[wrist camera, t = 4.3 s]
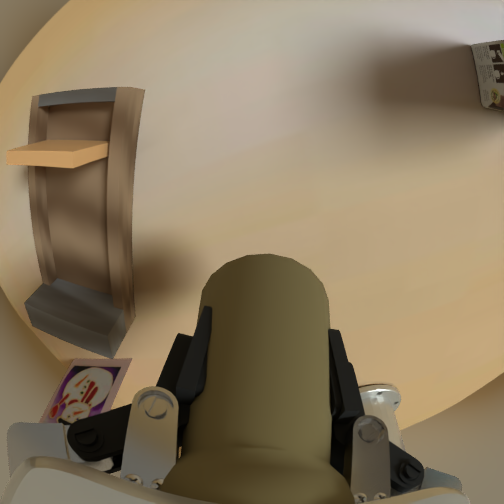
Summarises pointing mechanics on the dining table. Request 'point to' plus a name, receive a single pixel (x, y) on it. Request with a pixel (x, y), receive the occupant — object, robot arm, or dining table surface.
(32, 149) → the pusher
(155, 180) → the dining table surface
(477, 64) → the coffee box
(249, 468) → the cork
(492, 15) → the dining table surface
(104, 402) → the greeting card
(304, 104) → the dining table surface
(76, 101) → the lane
